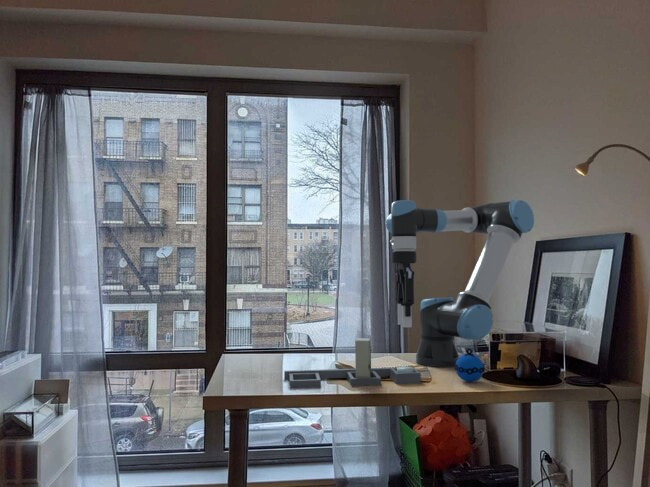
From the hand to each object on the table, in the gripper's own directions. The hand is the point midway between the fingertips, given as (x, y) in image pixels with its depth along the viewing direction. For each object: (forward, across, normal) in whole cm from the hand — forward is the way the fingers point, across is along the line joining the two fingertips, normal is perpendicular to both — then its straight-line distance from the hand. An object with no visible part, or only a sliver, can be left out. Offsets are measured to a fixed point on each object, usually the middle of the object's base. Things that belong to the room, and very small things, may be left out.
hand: (404, 325), depth 150 cm
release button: (+16, 0, 0) cm, 16 cm away
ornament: (+17, +4, +19) cm, 26 cm away
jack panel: (+17, -1, -18) cm, 25 cm away
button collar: (+17, 0, 0) cm, 17 cm away
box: (+17, 0, -13) cm, 21 cm away
